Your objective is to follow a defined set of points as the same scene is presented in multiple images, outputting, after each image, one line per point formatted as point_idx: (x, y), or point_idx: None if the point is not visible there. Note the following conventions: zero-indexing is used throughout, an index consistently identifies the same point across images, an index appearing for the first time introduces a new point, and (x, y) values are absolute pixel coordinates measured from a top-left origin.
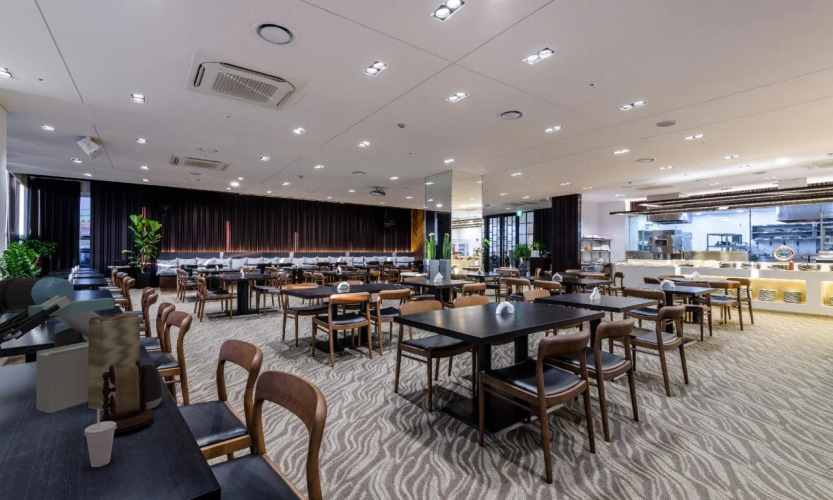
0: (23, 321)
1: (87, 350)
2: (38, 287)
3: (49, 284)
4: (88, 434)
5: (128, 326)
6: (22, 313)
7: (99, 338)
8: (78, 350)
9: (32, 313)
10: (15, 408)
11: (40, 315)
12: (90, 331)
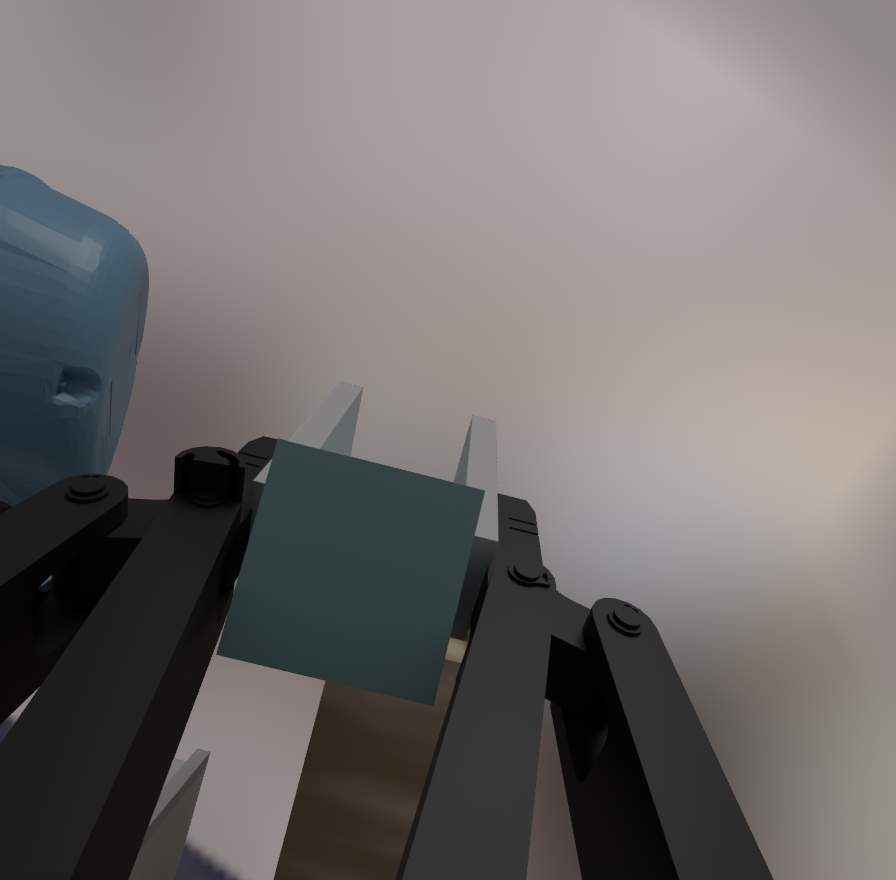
0: (519, 878)
1: (157, 837)
2: (12, 226)
3: (113, 246)
4: None
5: None
6: (58, 548)
7: None
8: None
9: (375, 599)
10: None
11: (685, 690)
12: (340, 722)
